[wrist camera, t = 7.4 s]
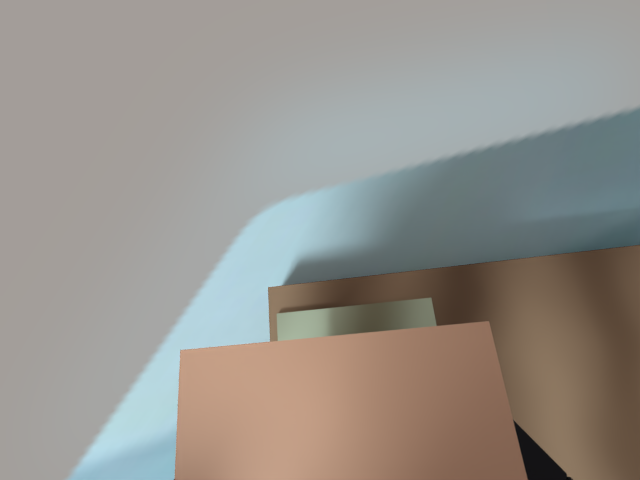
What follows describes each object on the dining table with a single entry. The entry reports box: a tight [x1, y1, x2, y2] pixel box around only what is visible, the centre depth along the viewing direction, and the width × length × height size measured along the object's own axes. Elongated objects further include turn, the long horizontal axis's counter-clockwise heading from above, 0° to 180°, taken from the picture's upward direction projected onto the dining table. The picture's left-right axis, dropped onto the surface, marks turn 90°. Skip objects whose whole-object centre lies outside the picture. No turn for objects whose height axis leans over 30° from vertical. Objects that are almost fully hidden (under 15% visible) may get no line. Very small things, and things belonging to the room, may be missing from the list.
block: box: [175, 321, 528, 480], centre depth 9 cm, size 5×5×10 cm
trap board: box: [268, 245, 640, 480], centre depth 15 cm, size 30×11×2 cm, turn 95°
